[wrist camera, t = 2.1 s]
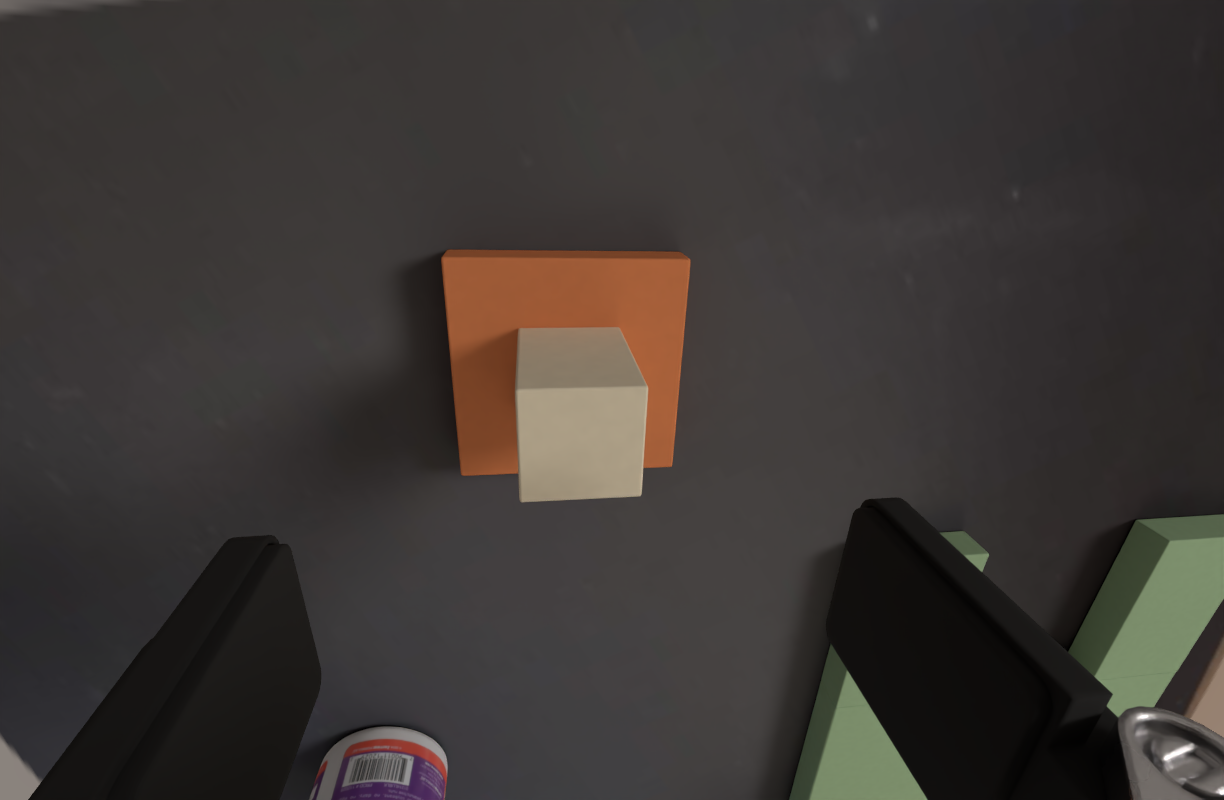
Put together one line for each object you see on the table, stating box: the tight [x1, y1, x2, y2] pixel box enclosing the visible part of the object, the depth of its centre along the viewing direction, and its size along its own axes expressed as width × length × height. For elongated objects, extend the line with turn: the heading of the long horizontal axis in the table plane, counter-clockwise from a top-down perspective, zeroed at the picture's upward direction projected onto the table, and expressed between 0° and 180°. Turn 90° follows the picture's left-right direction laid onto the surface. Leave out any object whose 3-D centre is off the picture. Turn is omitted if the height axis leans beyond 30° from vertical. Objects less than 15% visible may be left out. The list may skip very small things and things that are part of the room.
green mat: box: [789, 514, 1224, 800], centre depth 28 cm, size 18×18×2 cm
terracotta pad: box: [441, 250, 690, 502], centre depth 16 cm, size 7×7×6 cm
